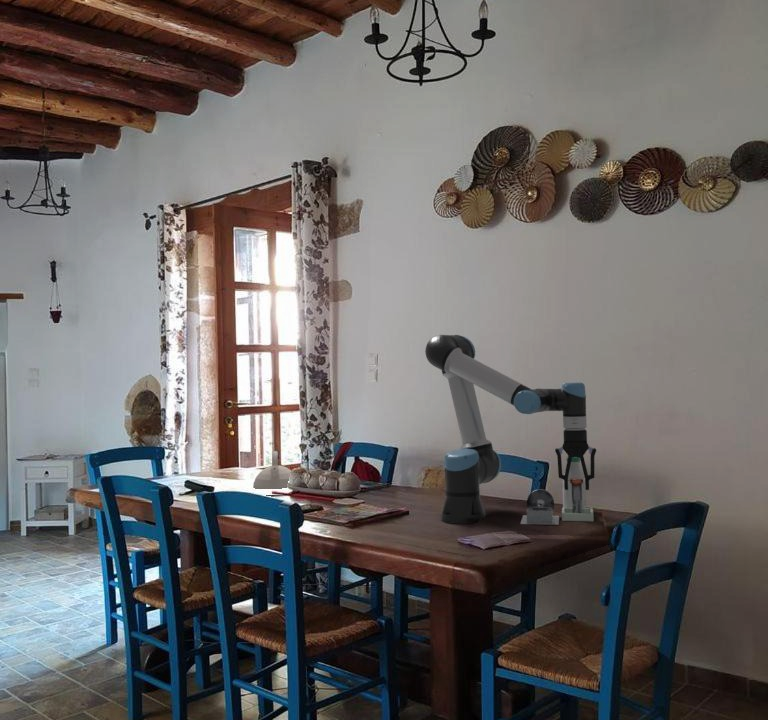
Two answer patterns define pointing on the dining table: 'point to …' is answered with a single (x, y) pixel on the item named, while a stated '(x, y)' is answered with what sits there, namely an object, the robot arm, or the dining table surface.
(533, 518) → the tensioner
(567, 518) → the tray
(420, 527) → the dining table surface
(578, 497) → the pin
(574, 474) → the milk bottle
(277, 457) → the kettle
